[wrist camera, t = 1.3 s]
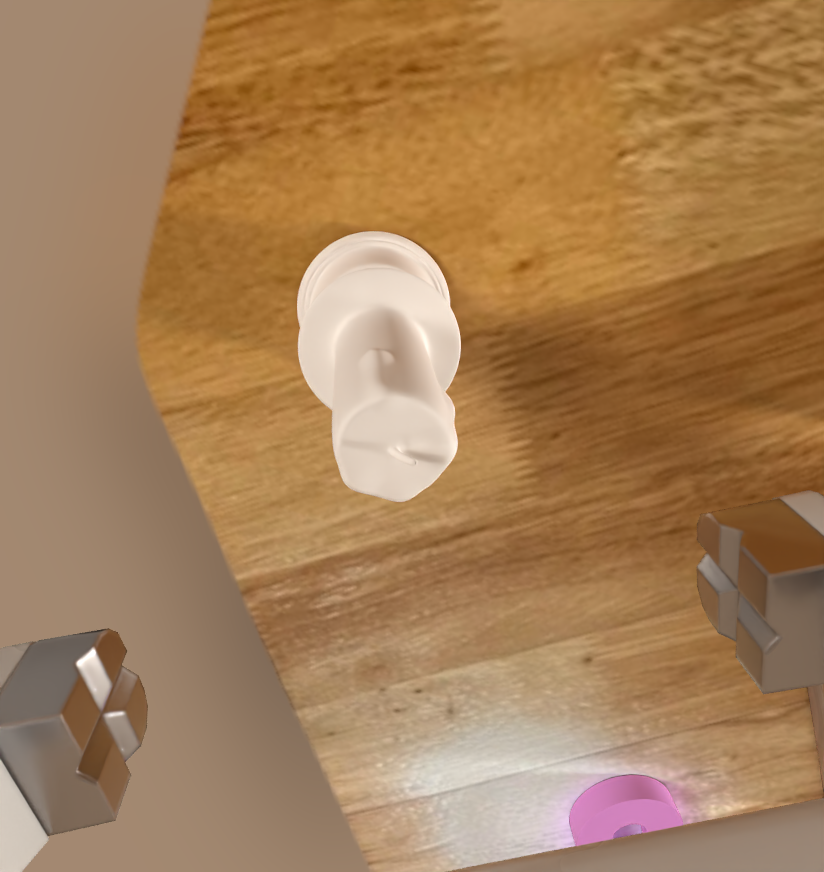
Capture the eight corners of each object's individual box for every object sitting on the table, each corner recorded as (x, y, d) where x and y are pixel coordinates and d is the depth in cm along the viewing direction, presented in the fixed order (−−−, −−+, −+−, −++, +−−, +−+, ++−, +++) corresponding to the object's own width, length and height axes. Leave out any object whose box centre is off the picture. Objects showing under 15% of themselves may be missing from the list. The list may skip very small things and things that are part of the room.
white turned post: (452, 230, 23) (543, 326, 12) (446, 379, 25) (520, 572, 14) (292, 230, 23) (241, 329, 12) (301, 381, 25) (264, 582, 14)
